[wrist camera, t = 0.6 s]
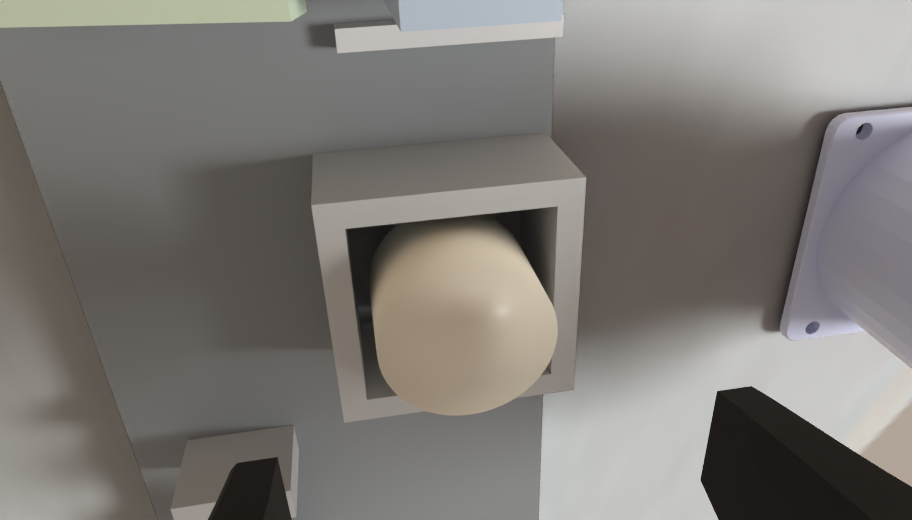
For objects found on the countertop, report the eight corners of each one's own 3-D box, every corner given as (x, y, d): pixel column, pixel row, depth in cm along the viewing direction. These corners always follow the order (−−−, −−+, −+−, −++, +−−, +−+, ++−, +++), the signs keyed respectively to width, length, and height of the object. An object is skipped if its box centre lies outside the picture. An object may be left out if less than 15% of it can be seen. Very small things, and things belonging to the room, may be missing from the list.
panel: (537, -322, 14) (632, -413, 10) (521, 594, 29) (557, 720, 24) (-91, -321, 13) (-304, -429, 8) (228, 648, 27) (211, 792, 23)
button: (524, 197, 16) (561, 252, 13) (522, 331, 18) (554, 402, 15) (360, 214, 15) (367, 275, 13) (376, 351, 17) (384, 427, 15)
